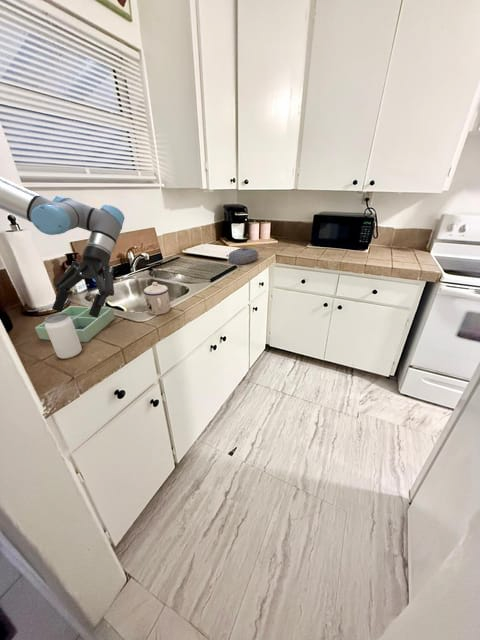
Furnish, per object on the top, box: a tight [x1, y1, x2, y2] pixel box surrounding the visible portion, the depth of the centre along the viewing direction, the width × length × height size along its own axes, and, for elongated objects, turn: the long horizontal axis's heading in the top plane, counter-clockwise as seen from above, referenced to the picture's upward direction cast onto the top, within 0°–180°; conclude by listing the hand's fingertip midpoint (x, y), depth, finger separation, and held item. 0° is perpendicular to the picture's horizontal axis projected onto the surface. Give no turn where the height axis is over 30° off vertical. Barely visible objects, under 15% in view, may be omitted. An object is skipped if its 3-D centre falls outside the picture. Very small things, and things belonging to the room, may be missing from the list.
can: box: [44, 312, 83, 360], centre depth 75 cm, size 6×6×12 cm
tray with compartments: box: [34, 305, 116, 343], centre depth 90 cm, size 17×17×4 cm
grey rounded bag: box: [228, 247, 259, 266], centre depth 166 cm, size 15×8×20 cm
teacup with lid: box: [143, 281, 171, 316], centre depth 100 cm, size 12×9×12 cm
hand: (74, 313), depth 77 cm, fingers open, 13 cm apart
